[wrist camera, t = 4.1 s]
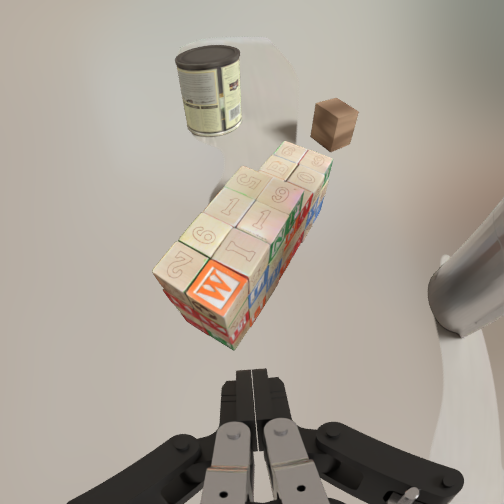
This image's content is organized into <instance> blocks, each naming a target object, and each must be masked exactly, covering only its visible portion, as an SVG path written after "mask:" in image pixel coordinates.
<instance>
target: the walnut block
mask: <svg viewBox="0 0 504 504" xmlns="http://www.w3.org/2000/svg"><path fill="white" fill-rule="evenodd" d="M358 113H359V112H358V111H357V110H355V109H354V108H352V107H350V106H349V105H347V104H346V103H344V102H342V101H341V100H339V99H338V98H334V99H330V100H326V101H322V102H319V103H316V105H315V112H314V118H313V124H312V130H311V136H310V137H311V138H313V139H314V140H315V141H317V142H318V143H319V144H320V145H322V146H323V147H324V148H326V149H327V150H328V151H329V152H333V151H335V150H337V149H340V148H342V147H344V146H347V145H349V144H350V142H351V138H352V135H353V131H354V127H355V124H356V120H357V116H358Z"/></svg>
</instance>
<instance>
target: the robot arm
mask: <svg viewBox="0 0 504 504" xmlns="http://www.w3.org/2000/svg"><path fill="white" fill-rule="evenodd" d="M428 300H429V305H430V308H431V310H432V313H433V314H434V316H435V318H436V319H437V321H438V322H439V323H440V324H441V325H442V326H443V327H444V328H446V329H448V330H449V331H452V332H456V333H458V334H459V335H460V336H461V338H464V337H466V336H468V335H470V334H472V333H474V332H476V331H477V330H479V329H481V328H483V327H485V326H487V325H488V324H490V323H492V322H494V321H495V320H497V319H499V318H500V317H502V316H504V197H503V199H502V200H501V201H500V203H499V204H498V205H497V206H496V207H495V209H494V210H493V211H492V212H491V214H490V215H489V216H488V217H487V218H486V219H485V221H484V222H483V223H482V224H481V225H480V226H479V228H478V229H477V230H476V231H475V232H474V233H473V234H472V235H471V236H470V238H469V239H468V240H467V241H466V242H465V243H464V244H463V245H462V246H461V247H460V248H459V249H458V250H457V251H456V252H455V254H453V255H452V256H451V257H450V259H449V260H448V261H447V262H446V263H444V264H443V265H442V266H441V267H440V268H439V269H438V270H437V271H436V272H435V273H434V274H433V276H432V277H431V279H430V282H429V285H428ZM252 375H253V387H254V399H255V412H256V423H257V432H258V443H259V451H264V458H265V461H266V465H267V470H268V474H269V479H270V483H271V488H272V492H273V497H274V500H273V501H270V502H266V503H257V502H254V496H253V495H254V456H253V452H254V451H258V449H257V437H256V424H255V413H254V400H253V389H252V378H251V370H240V371H236V381H226V383H225V384H224V385H223V387H222V393H221V396H222V397H221V409H220V424H219V428H218V429H217V431H216V432H214V433H213V434H211V435H209V436H207V437H203V438H199V439H196V438H195V437H193V436H191V435H187V434H180V435H176V436H173V437H172V438H170V439H169V440H167V441H166V442H165V443H163V444H162V445H160V446H159V447H157V448H156V449H155V450H153V451H152V452H150V453H149V454H147V455H146V456H144V457H143V458H141V459H140V460H138V461H137V462H135V463H134V464H132V465H131V466H129V467H128V468H126V469H124V470H123V471H121V472H120V473H118V474H116V475H115V476H113V477H112V478H110V479H108V480H106V481H105V482H103V483H102V484H100V485H98V486H96V487H94V488H93V489H91V490H89V491H88V492H86V493H84V494H82V495H80V496H78V497H76V498H75V499H72V500H71V501H69V502H68V503H67V504H184V503H185V502H187V501H188V500H189V499H190V498H191V497H193V496H194V495H195V494H196V493H198V492H199V491H200V490H201V489H202V488H203V492H202V498H201V503H200V504H345V503H343V502H341V501H338V500H335V499H332V498H327V495H326V493H325V490H324V487H323V484H322V482H321V479H320V478H322V479H323V480H325V481H327V482H329V483H330V484H332V485H334V486H335V487H337V488H339V489H341V490H343V491H345V492H346V493H349V494H350V495H352V496H354V497H356V498H358V499H360V500H362V501H364V502H366V503H368V504H449V503H450V502H451V501H452V499H453V498H454V497H455V495H456V494H457V493H458V492H459V491H460V490H461V489H462V487H463V484H464V478H463V475H462V474H461V473H460V472H459V471H458V470H456V469H453V468H449V467H446V466H443V465H440V464H437V463H434V462H432V461H429V460H426V459H423V458H420V457H418V456H415V455H412V454H410V453H407V452H405V451H402V450H400V449H397V448H395V447H392V446H390V445H387V444H385V443H383V442H381V441H378V440H376V439H374V438H371V437H369V436H367V435H365V434H363V433H360V432H359V431H357V430H354V429H352V428H350V427H348V426H346V425H344V424H342V423H338V422H328V423H325V424H323V425H321V426H320V427H319V428H318V430H313V429H304V428H301V427H299V426H297V425H296V423H295V422H293V420H292V418H291V414H290V409H289V405H288V401H287V396H286V392H285V387H284V383H283V382H282V381H281V380H280V379H279V378H278V377H275V378H268V375H267V369H266V368H265V369H254V370H252Z"/></svg>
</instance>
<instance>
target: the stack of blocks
mask: <svg viewBox="0 0 504 504" xmlns="http://www.w3.org/2000/svg"><path fill="white" fill-rule="evenodd" d="M332 162H333V159H331V158H329V157H327V156H324V155H322V154H319V153H317V152H315V151H312V150H307V149H306V148H303V147H300V146H298V145H295V144H293V143H290V142H287V141H284V142H283V143H282V144H281V145H280V146H279V148H278V149H277V150H276V151H275V152H274V154H273V155H271V156H270V157H269V159H268V160H267V161H266V162H265V163H264V164H263V166H262V167H261V168H260V169H259V171H255V170H252V169H250V168H247V167H245V166H241V167H240V169H239V170H238V171H237V172H236V173H235V174H234V175H233V176H232V178H231V179H230V180H229V181H228V182H227V183H226V184H225V185H224V188H223V189H222V190H221V191H220V192H219V193H218V194H217V195H216V197H215V198H214V199H213V200H212V201H211V202H210V204H209V205H208V206H207V207H206V208H205V210H204V211H203V212H201V213H200V214H199V215H198V217H197V218H196V219H195V220H194V221H193V222H192V223H191V225H190V226H189V227H188V228H187V229H186V231H185V232H184V233H183V235H182V236H181V237H180V238H179V240H178V241H176V242H175V243H174V244H173V245H172V247H171V248H170V249H169V250H168V251H167V253H166V254H165V255H164V256H163V257H162V259H161V260H160V261H159V262H158V264H157V265H156V266H155V267H154V269H153V270H152V273H153V274H154V276H155V277H156V279H157V280H158V281H159V283H160V284H161V286H162V287H163V288H164V289H163V291H164V293H165V294H166V295H167V297H168V298H169V300H170V301H171V302H172V303H173V304H174V305H175V306H176V308H177V309H178V310H179V311H180V312H181V314H182V316H183V317H184V318H185V320H186V321H187V322H188V323H190V324H191V325H193V326H194V327H196V328H198V329H199V330H201V331H202V332H204V333H205V334H207V335H209V336H211V337H213V338H214V339H216V340H217V341H219V342H221V343H222V344H224V345H226V346H227V347H229V348H230V349H232V350H235V349H236V348H237V346H238V344H239V343H240V342H241V340H242V339H243V337H244V335H245V334H246V333H247V331H248V329H249V328H250V327H251V326H252V325H253V323H254V322H255V320H256V318H257V317H258V315H259V314H260V312H261V310H262V309H263V307H264V306H265V304H266V302H267V301H268V299H269V298H270V296H271V295H272V293H273V291H274V290H275V288H276V286H277V285H278V282H279V280H280V278H281V276H282V275H283V273H284V271H285V270H286V268H287V266H288V265H289V263H290V260H291V259H292V257H293V256H294V254H295V252H296V250H297V249H298V247H299V245H300V243H302V242H303V240H304V239H305V237H306V236H307V234H308V232H309V230H310V229H311V227H312V224H313V223H314V221H315V219H316V218H317V216H318V214H319V212H320V210H321V207H322V203H323V199H324V195H325V193H326V189H327V185H328V182H329V178H328V177H329V174H330V170H331V166H332Z"/></svg>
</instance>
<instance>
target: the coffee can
mask: <svg viewBox="0 0 504 504" xmlns="http://www.w3.org/2000/svg"><path fill="white" fill-rule="evenodd" d="M239 56H240V51H239V49H237V48H235V47H231V46H225V45H210V46H203V47H198V48H194V49H190V50H187V51H185V52H183V53H181V54H179V55H178V56H177V57H176V59H175V62H176V65H177V70H178V75H179V82H180V87H181V93H182V99H183V104H184V109H185V115H186V120H187V127H188V129H189V130H190V131H191V132H192V133H194V134H196V135H199V136H219V135H223V134H227V133H229V132H232V131H233V130H235V129H236V128H237V127H239V125H240V124H241V122H242V117H241V95H240V67H239Z"/></svg>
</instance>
